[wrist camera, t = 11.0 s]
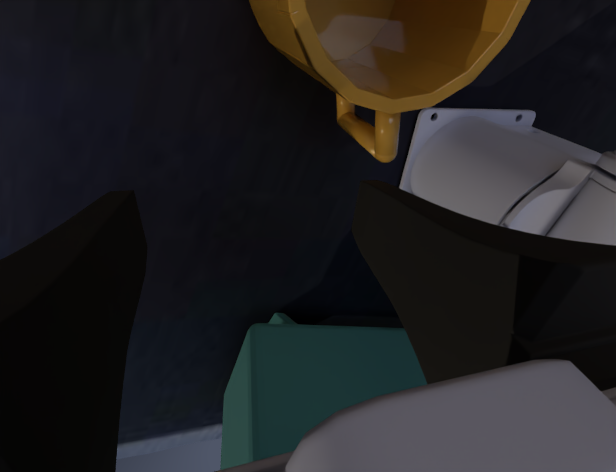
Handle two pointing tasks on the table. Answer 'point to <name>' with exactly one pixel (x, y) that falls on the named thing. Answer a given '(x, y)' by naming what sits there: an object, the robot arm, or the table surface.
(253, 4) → the mug
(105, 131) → the table surface
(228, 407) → the radio
